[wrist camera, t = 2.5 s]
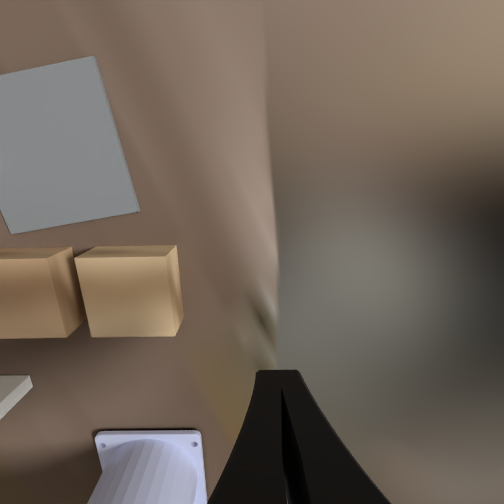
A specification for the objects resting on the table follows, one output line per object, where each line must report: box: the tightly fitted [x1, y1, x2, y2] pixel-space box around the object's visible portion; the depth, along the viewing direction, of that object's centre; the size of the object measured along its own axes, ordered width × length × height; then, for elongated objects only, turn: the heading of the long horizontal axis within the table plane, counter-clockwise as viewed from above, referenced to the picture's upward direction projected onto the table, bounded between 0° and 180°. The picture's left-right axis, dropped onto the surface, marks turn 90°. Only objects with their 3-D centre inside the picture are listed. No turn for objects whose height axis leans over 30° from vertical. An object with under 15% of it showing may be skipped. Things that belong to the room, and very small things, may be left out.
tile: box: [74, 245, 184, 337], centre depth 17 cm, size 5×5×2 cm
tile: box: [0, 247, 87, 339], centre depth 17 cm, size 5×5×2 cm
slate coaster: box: [0, 56, 140, 234], centre depth 16 cm, size 8×8×1 cm
